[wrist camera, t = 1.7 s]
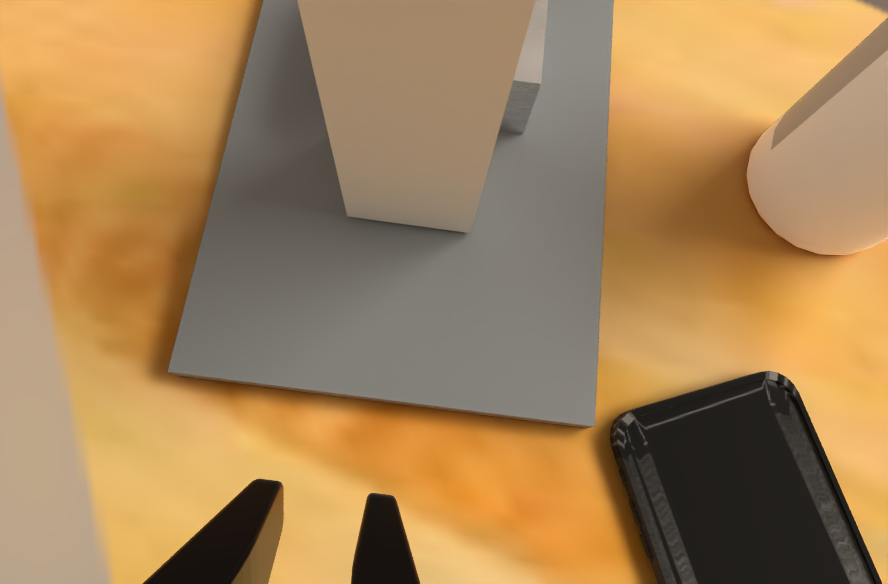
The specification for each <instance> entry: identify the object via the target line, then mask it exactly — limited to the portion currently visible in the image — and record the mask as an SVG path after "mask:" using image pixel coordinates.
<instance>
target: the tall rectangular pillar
mask: <svg viewBox="0 0 888 584" xmlns="http://www.w3.org/2000/svg"><path fill="white" fill-rule="evenodd" d="M535 1H536V0H297V2H298V6H299V10H300V15H301V19H302V23H303V28H304V32H305V36H306V41H307V45H308V49H309V54H310V58H311V62H312V67H313V71H314V75H315V79H316V84H317V88H318V92H319V97H320V101H321V105H322V110H323V114H324V118H325V123H326V127H327V131H328V136H329V140H330V144H331V149H332V153H333V157H334V161H335V166H336V170H337V174H338V179H339V183H340V187H341V192H342V196H343V200H344V205H345V209H346V213H347V216H348V217H356V218H363V219H370V220H377V221H385V222H392V223H399V224H407V225H414V226H421V227H429V228H436V229H443V230H451V231H458V232H465V233H470V232H471V229H472V225H473V222H474V218H475V215H476V211H477V207H478V204H479V200H480V197H481V193H482V190H483V186H484V183H485V179H486V175H487V172H488V168H489V165H490V161H491V158H492V154H493V150H494V147H495V143H496V140H497V136H498V133H499V129H500V126H501V122H502V118H503V115H504V111H505V108H506V104H507V101H508V97H509V94H510V90H511V86H512V83H513V79H514V76H515V72H516V69H517V65H518V61H519V58H520V54H521V51H522V47H523V44H524V40H525V37H526V33H527V29H528V26H529V22H530V19H531V15H532V12H533V8H534V5H535Z"/></svg>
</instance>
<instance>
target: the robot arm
mask: <svg viewBox="0 0 888 584" xmlns="http://www.w3.org/2000/svg"><path fill="white" fill-rule="evenodd" d="M282 527H283V485H282V483H281V482H279V481H273V480H265V479H256V480H254V481H252V482H251V483H250V484H249V485H248V486H247V487H246V488H245V489H244V490H243V491H242V492H240V493H239V494H238V495H237V496H236V497H235V498H234V499H233V500H232V501H231V502H230V503H229V504H228V505H227V506H225V507H224V508H223V509H222V510H221V511H220V512H219V513H218V514H217V515H216V516H215V517H214V518H213V519H212V520H210V521H209V522H208V523H207V524H206V525H205V526H204V527H203V528H202V529H201V530H200V531H199V532H198V533H197V534H195V535H194V536H193V537H192V538H191V539H190V540H189V541H188V542H187V543H186V544H185V545H184V546H183V547H181V548H180V549H179V550H178V551H177V552H176V553H175V554H174V555H173V556H172V557H171V558H170V559H169V560H168V561H166V562H165V563H164V564H163V565H162V566H161V567H160V568H159V569H158V570H157V571H156V572H155V573H154V574H153V575H151V576H150V577H149V578H148V579H147V580H146V581H145V582H144V583H143V584H268V582H269V578H270V574H271V570H272V567H273V563H274V559H275V555H276V551H277V548H278V544H279V540H280V536H281V532H282ZM351 584H420V581H419V578H418V574H417V571H416V567H415V564H414V560H413V557H412V553H411V550H410V546H409V543H408V540H407V536H406V533H405V529H404V526H403V522H402V519H401V515H400V512H399V508H398V505H397V501H396V499H395V498H394V497H393V496H391V495H385V494H377V493H371V494H369V495H368V497H367V500H366V505H365V509H364V514H363V518H362V523H361V527H360V532H359V536H358V541H357V546H356V550H355V555H354V560H353V566H352V578H351Z"/></svg>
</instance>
